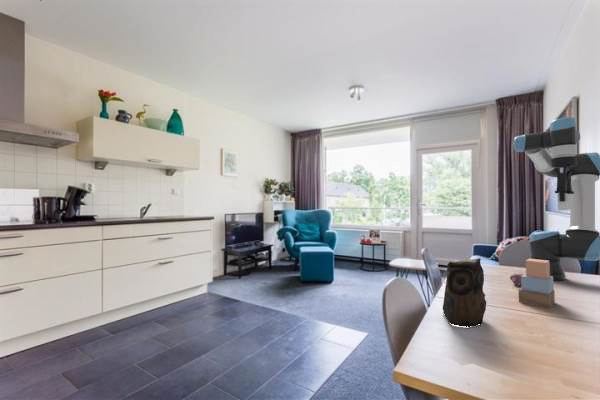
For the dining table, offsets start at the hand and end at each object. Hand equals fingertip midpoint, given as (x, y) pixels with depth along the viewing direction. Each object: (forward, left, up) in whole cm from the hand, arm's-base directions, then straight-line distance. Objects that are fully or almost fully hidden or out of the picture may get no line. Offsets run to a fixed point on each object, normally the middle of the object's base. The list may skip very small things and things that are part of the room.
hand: (565, 210), depth 114 cm
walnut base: (+16, -7, -35) cm, 39 cm away
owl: (+55, -20, -35) cm, 68 cm away
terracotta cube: (+16, -7, -25) cm, 30 cm away
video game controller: (-7, -15, -35) cm, 39 cm away
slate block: (+16, -7, -30) cm, 35 cm away
